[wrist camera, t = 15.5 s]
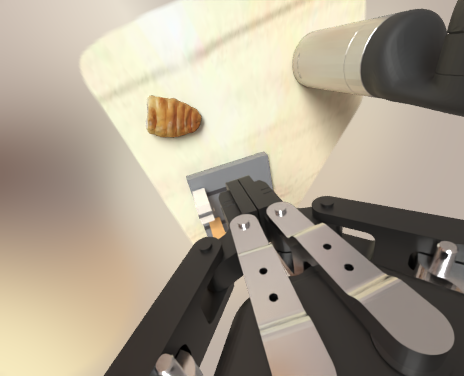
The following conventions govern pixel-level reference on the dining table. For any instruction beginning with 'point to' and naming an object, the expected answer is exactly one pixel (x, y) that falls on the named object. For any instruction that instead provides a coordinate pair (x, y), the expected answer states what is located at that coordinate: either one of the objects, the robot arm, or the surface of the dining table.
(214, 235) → the orange fader
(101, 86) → the dining table surface
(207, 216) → the cream fader
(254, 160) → the console
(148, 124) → the pastry
